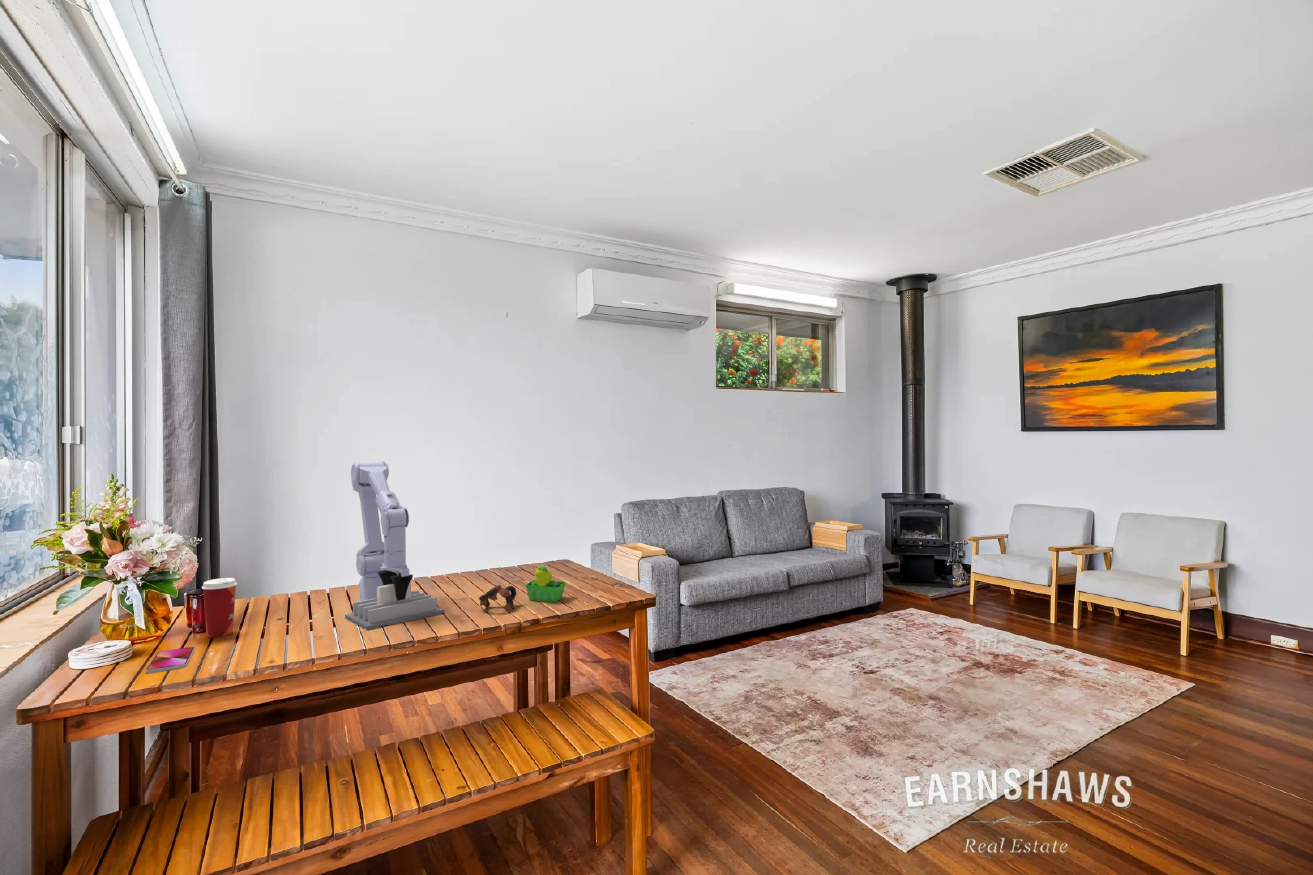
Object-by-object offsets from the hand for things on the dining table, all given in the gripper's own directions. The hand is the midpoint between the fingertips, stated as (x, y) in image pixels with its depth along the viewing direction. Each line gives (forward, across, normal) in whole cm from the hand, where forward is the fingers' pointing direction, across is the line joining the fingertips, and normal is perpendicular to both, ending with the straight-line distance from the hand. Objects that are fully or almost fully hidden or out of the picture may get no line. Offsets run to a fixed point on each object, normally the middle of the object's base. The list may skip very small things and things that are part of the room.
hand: (395, 597), depth 179 cm
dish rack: (+5, 0, 0) cm, 5 cm away
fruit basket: (+6, +17, +40) cm, 44 cm away
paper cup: (+5, -17, -39) cm, 43 cm away
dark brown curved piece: (+6, +16, +25) cm, 30 cm away
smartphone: (+6, -2, -51) cm, 51 cm away
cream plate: (+4, 0, 0) cm, 4 cm away
